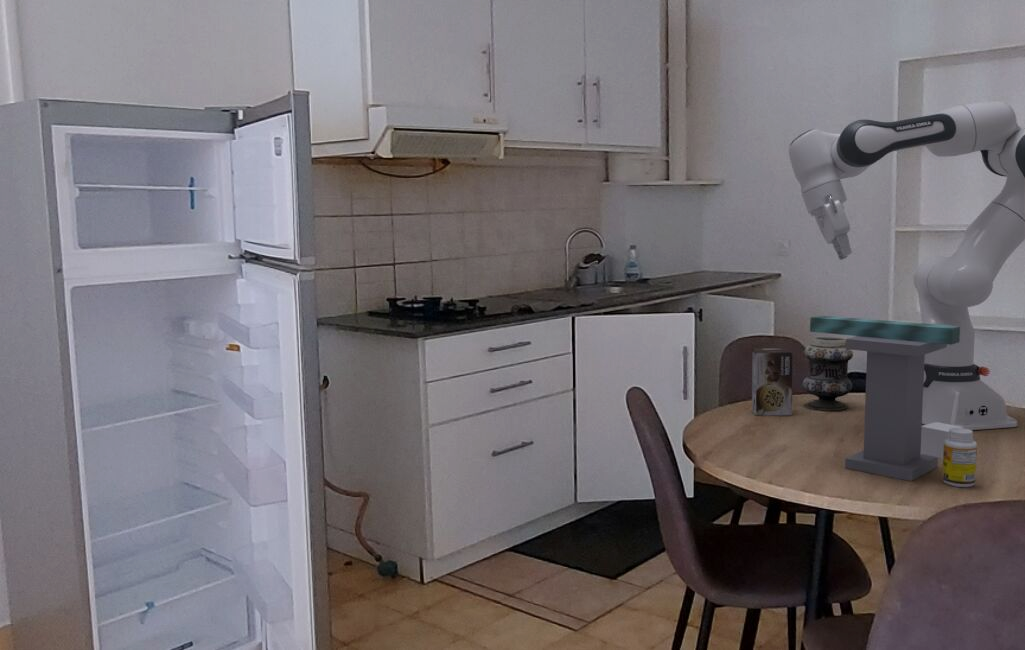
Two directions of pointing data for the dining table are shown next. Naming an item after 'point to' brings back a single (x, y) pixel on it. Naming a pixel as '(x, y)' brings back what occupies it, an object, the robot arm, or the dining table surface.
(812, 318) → the teal block
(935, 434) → the grey cube piece
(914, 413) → the pedestal
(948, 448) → the supplement bottle
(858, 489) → the dining table surface
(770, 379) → the coffee box
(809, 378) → the apothecary jar
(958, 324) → the robot arm
